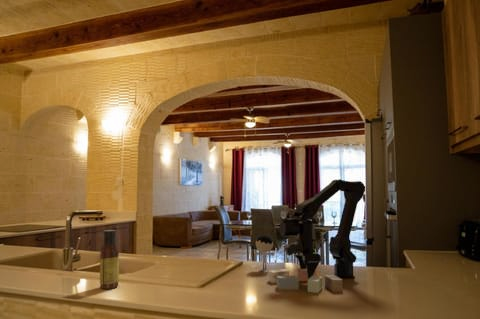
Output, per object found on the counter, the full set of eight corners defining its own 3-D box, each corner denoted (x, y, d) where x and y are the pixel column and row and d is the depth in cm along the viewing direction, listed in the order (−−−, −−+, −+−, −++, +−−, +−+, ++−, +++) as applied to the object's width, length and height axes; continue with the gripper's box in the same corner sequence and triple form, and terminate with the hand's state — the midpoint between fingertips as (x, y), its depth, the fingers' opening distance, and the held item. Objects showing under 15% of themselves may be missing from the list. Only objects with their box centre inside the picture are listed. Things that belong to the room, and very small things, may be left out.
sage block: (312, 287, 124) (312, 275, 125) (322, 288, 123) (322, 276, 123) (307, 292, 118) (307, 280, 118) (318, 293, 117) (317, 281, 117)
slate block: (296, 287, 125) (295, 275, 125) (298, 289, 121) (298, 277, 122) (276, 287, 124) (276, 275, 124) (278, 290, 121) (278, 278, 121)
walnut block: (324, 286, 125) (324, 275, 126) (334, 286, 126) (333, 274, 126) (332, 292, 118) (332, 280, 119) (342, 291, 119) (342, 279, 119)
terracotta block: (314, 279, 136) (314, 268, 137) (316, 281, 133) (316, 270, 133) (296, 279, 136) (296, 268, 137) (298, 281, 133) (298, 270, 133)
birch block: (284, 279, 135) (284, 269, 136) (289, 281, 132) (289, 270, 133) (268, 281, 133) (268, 270, 133) (273, 283, 129) (273, 272, 130)
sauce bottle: (122, 286, 124) (124, 229, 126) (110, 290, 118) (112, 231, 120) (107, 284, 126) (109, 229, 128) (94, 288, 121) (97, 230, 123)
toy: (274, 267, 156) (274, 234, 157) (274, 271, 149) (274, 235, 151) (255, 267, 157) (255, 233, 158) (254, 270, 150) (254, 235, 152)
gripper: (280, 233, 145) (280, 271, 143) (291, 238, 126) (291, 282, 125) (306, 232, 146) (307, 270, 144) (321, 238, 127) (322, 282, 126)
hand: (306, 276), depth 135 cm, fingers open, 9 cm apart
